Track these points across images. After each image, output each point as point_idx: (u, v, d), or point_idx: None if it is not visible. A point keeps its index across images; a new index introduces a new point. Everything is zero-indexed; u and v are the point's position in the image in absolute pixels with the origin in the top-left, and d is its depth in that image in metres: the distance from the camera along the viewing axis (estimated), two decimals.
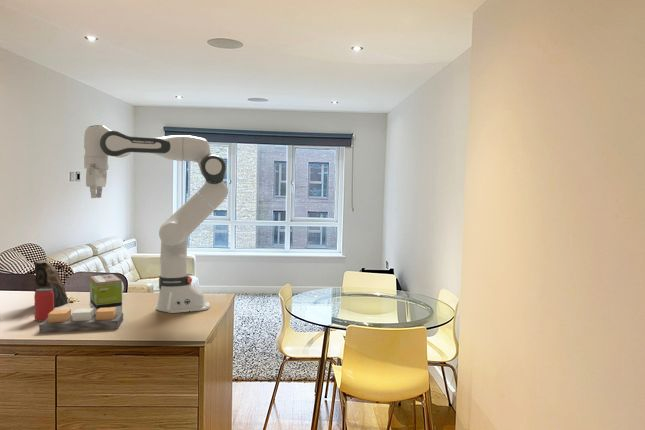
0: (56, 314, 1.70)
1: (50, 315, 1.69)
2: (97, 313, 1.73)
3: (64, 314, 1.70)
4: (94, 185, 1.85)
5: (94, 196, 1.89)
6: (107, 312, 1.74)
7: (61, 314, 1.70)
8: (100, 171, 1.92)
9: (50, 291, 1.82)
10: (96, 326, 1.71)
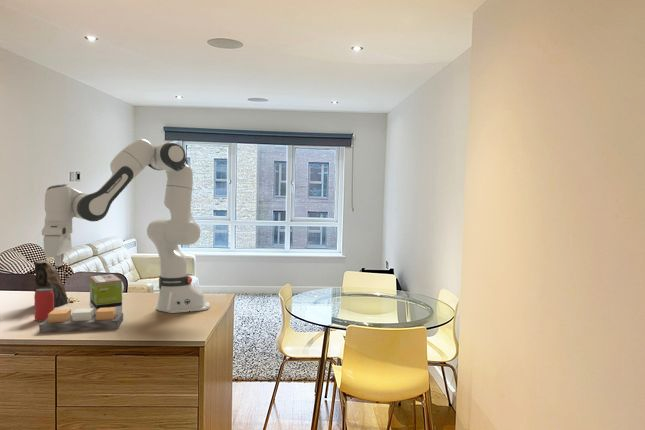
0: (56, 314, 1.70)
1: (50, 315, 1.69)
2: (97, 313, 1.73)
3: (64, 314, 1.70)
4: None
5: None
6: (107, 312, 1.74)
7: (61, 314, 1.70)
8: None
9: (50, 291, 1.82)
10: (96, 326, 1.71)
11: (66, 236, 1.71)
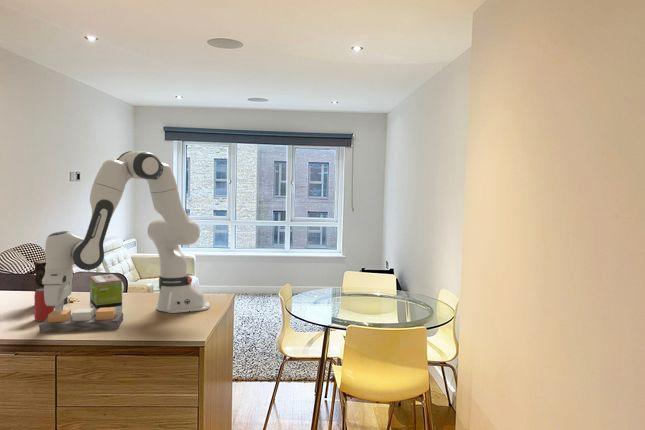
0: (56, 315, 1.70)
1: (50, 316, 1.69)
2: (97, 313, 1.73)
3: (64, 315, 1.70)
4: None
5: None
6: (107, 312, 1.74)
7: (61, 315, 1.70)
8: None
9: None
10: (96, 326, 1.71)
11: (66, 283, 1.72)
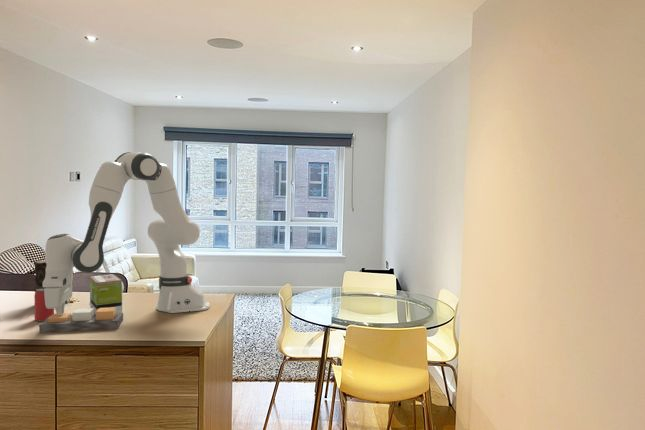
0: (56, 318, 1.70)
1: (50, 319, 1.69)
2: (97, 313, 1.73)
3: (64, 318, 1.71)
4: None
5: None
6: (107, 312, 1.74)
7: (61, 318, 1.70)
8: None
9: None
10: (96, 326, 1.71)
11: (67, 285, 1.72)
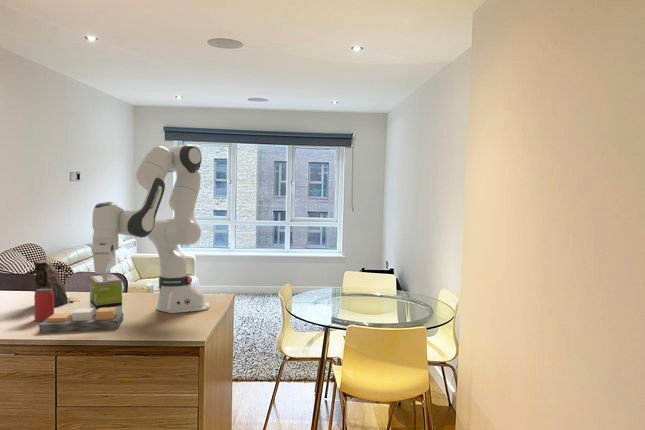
0: (56, 318, 1.70)
1: (50, 319, 1.69)
2: (97, 313, 1.73)
3: (64, 318, 1.71)
4: None
5: None
6: (107, 312, 1.74)
7: (61, 318, 1.70)
8: None
9: (50, 291, 1.82)
10: (96, 326, 1.71)
11: (113, 253, 1.75)
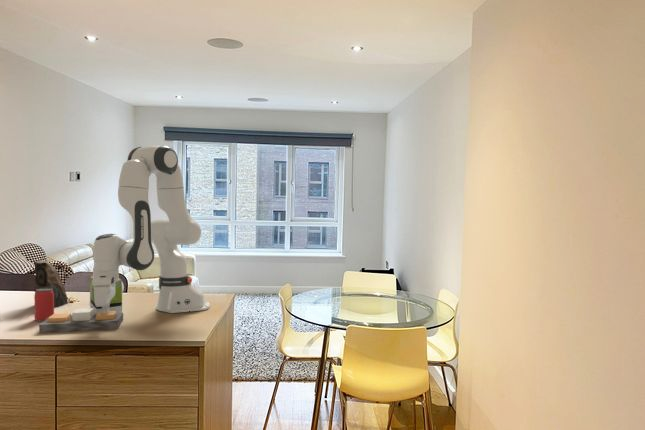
0: (56, 318, 1.70)
1: (50, 319, 1.69)
2: (97, 317, 1.73)
3: (64, 318, 1.71)
4: None
5: None
6: (107, 316, 1.74)
7: (61, 318, 1.70)
8: None
9: (50, 291, 1.82)
10: (96, 326, 1.71)
11: (113, 284, 1.75)
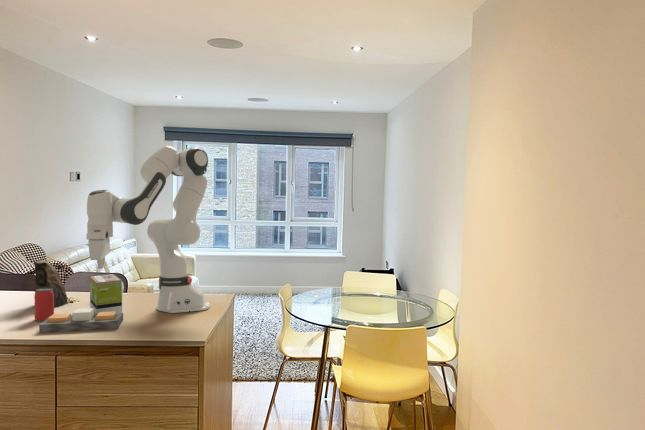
0: (56, 318, 1.70)
1: (50, 319, 1.69)
2: (97, 317, 1.73)
3: (64, 318, 1.71)
4: None
5: None
6: (107, 316, 1.74)
7: (61, 318, 1.70)
8: None
9: (50, 291, 1.82)
10: (96, 326, 1.71)
11: (107, 240, 1.78)
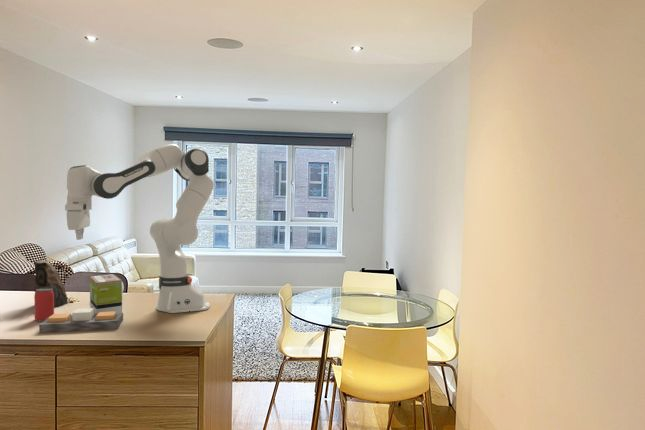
0: (56, 318, 1.70)
1: (50, 319, 1.69)
2: (97, 317, 1.73)
3: (64, 318, 1.71)
4: None
5: None
6: (107, 316, 1.74)
7: (61, 318, 1.70)
8: None
9: (50, 291, 1.82)
10: (96, 326, 1.71)
11: (86, 212, 1.88)
